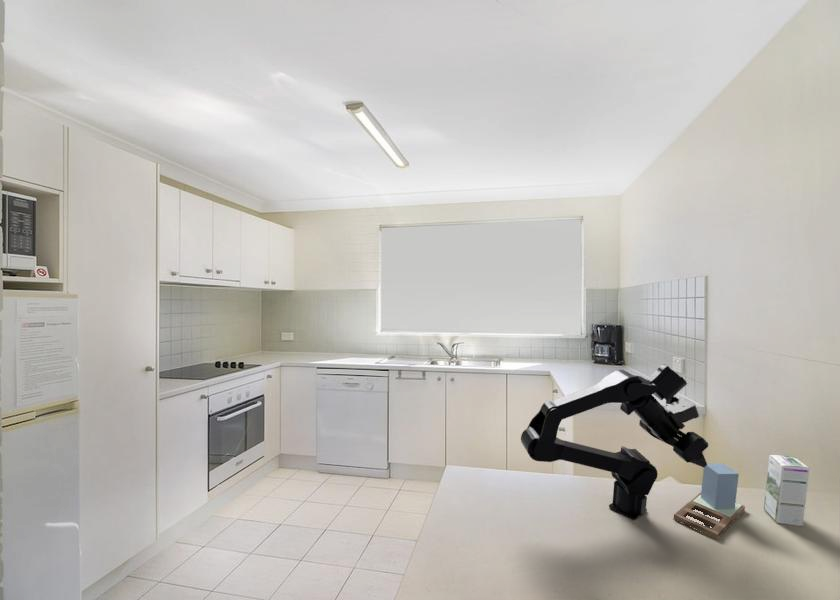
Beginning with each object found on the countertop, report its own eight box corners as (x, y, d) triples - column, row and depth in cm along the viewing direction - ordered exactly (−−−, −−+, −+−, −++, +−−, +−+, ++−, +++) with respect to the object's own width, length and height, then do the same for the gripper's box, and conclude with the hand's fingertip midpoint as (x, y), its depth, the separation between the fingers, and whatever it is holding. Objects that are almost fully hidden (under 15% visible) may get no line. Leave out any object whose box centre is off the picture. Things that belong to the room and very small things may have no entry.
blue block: (714, 509, 107) (718, 473, 106) (700, 497, 112) (704, 463, 111) (734, 508, 107) (738, 473, 106) (719, 497, 112) (723, 463, 111)
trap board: (673, 519, 105) (674, 513, 105) (703, 494, 116) (704, 489, 116) (716, 539, 98) (717, 533, 98) (744, 510, 109) (745, 505, 109)
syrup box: (804, 526, 103) (812, 467, 101) (775, 523, 104) (782, 464, 103) (789, 512, 109) (796, 456, 107) (761, 509, 110) (768, 453, 108)
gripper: (704, 403, 96) (747, 451, 98) (654, 377, 115) (691, 418, 117) (665, 438, 97) (709, 485, 99) (622, 407, 115) (660, 447, 117)
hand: (692, 456), depth 108 cm, fingers open, 9 cm apart
